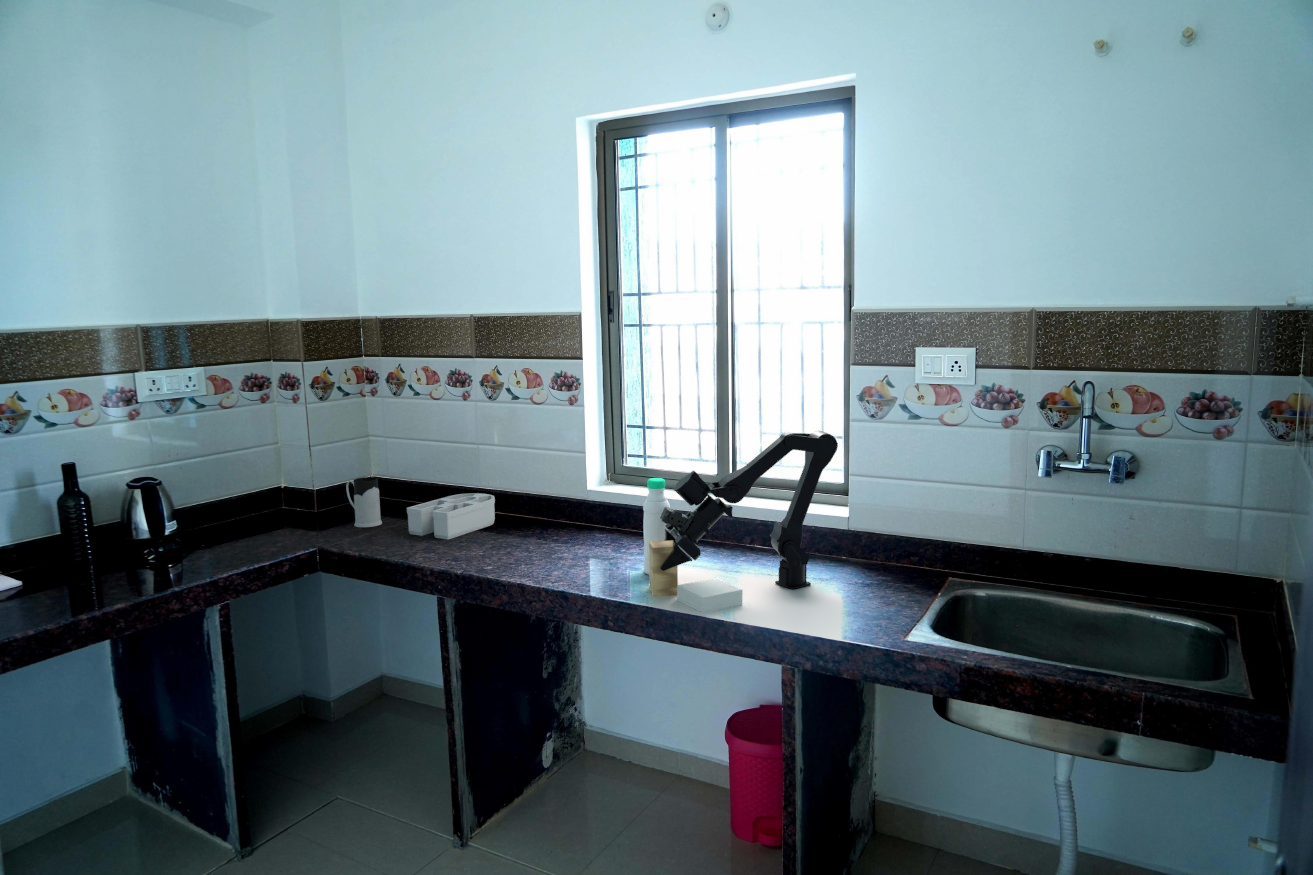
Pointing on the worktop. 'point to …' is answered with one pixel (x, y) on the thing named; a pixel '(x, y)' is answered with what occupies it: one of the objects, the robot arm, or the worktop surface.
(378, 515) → the white and grey pitcher
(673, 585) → the honey wood block
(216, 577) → the worktop surface
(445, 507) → the white compartment organizer
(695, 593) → the grey base block
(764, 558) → the worktop surface
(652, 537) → the water bottle
